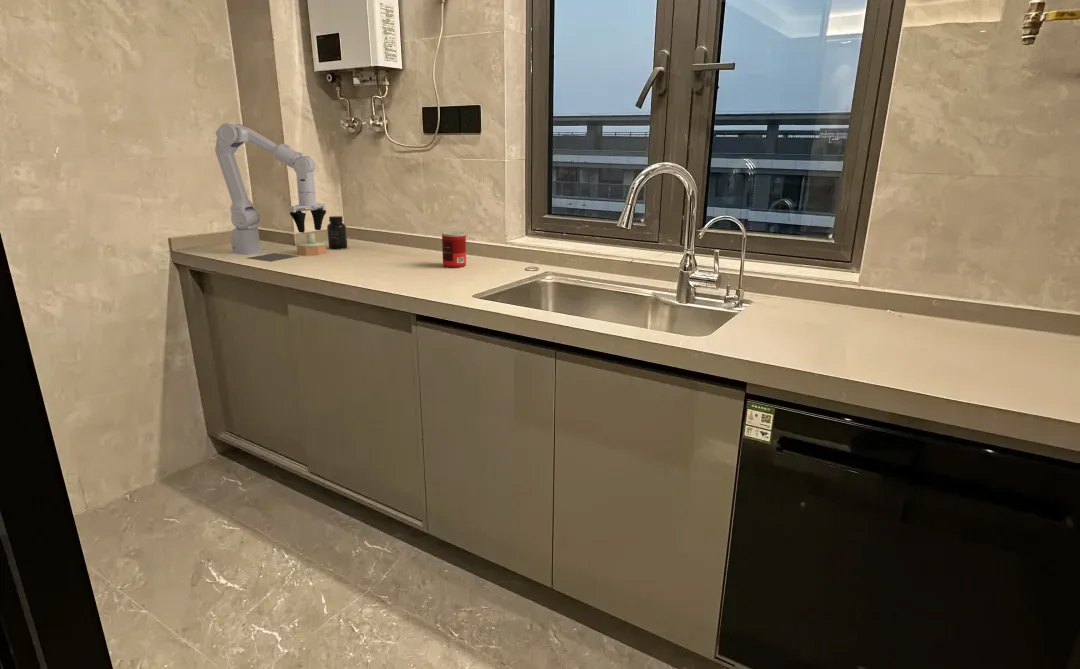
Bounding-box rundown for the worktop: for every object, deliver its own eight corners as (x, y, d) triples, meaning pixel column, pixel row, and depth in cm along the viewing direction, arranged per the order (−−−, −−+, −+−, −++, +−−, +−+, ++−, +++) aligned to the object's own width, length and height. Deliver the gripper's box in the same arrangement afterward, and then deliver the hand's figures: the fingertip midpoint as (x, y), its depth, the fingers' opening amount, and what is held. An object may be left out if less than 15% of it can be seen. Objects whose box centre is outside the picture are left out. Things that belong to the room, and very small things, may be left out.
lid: (290, 245, 220) (289, 234, 218) (309, 241, 229) (308, 230, 227) (313, 247, 216) (312, 236, 215) (332, 243, 225) (331, 232, 224)
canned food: (468, 264, 210) (467, 231, 207) (463, 268, 202) (462, 235, 199) (446, 263, 211) (445, 231, 208) (440, 267, 203) (439, 234, 200)
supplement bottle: (351, 247, 238) (349, 216, 235) (337, 250, 233) (334, 217, 229) (339, 246, 242) (336, 215, 238) (324, 248, 236) (322, 216, 233)
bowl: (292, 254, 221) (291, 245, 220) (312, 251, 230) (311, 241, 229) (311, 257, 217) (310, 247, 216) (332, 253, 226) (331, 243, 225)
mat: (246, 259, 212) (245, 258, 212) (274, 254, 222) (274, 253, 222) (271, 262, 207) (270, 261, 207) (299, 257, 217) (298, 256, 217)
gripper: (298, 194, 209) (302, 234, 213) (330, 191, 222) (333, 229, 226) (283, 192, 212) (287, 232, 216) (315, 190, 225) (318, 228, 229)
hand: (309, 231), depth 221 cm, fingers open, 7 cm apart
